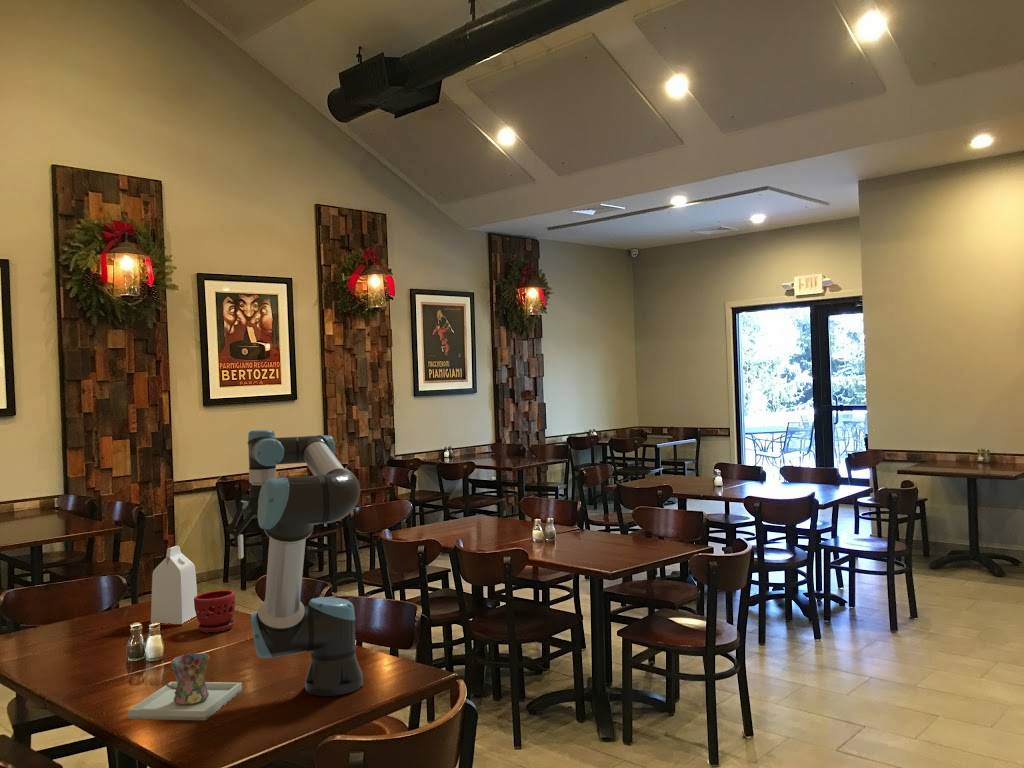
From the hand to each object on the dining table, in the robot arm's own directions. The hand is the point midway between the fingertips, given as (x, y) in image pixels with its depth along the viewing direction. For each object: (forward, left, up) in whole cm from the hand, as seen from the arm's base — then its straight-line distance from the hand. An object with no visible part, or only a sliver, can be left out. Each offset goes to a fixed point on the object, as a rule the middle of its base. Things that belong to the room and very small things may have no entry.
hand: (264, 557), depth 242 cm
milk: (+55, -48, -32) cm, 80 cm away
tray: (+9, +29, -32) cm, 44 cm away
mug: (+9, +30, -31) cm, 44 cm away
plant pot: (+35, -38, -32) cm, 61 cm away
